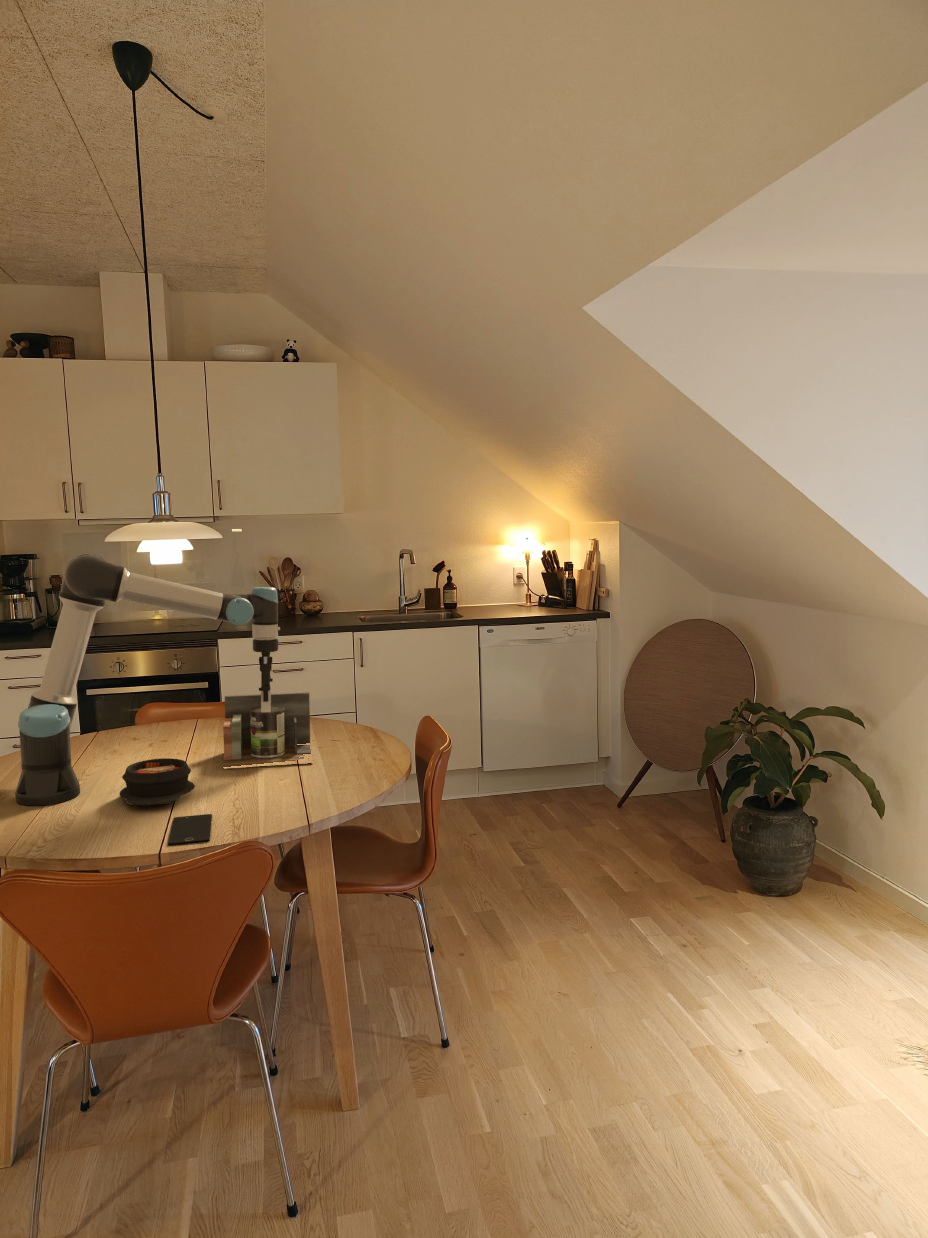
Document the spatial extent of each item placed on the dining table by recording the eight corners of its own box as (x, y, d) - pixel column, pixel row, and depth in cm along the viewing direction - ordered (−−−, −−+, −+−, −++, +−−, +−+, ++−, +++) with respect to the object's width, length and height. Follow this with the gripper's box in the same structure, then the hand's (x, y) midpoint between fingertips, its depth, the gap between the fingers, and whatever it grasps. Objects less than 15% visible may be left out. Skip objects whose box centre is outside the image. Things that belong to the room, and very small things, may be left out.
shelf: (312, 764, 247) (311, 704, 245) (222, 769, 241) (220, 709, 239) (310, 747, 266) (309, 692, 264) (226, 752, 261) (224, 695, 259)
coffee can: (263, 760, 245) (262, 713, 244) (244, 754, 252) (242, 708, 251) (292, 753, 253) (291, 708, 251) (272, 747, 260) (271, 703, 258)
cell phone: (167, 847, 182) (167, 843, 182) (174, 820, 199) (173, 817, 199) (209, 843, 184) (209, 839, 184) (212, 817, 202) (212, 813, 202)
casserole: (128, 785, 227) (126, 755, 226) (198, 780, 231) (197, 751, 230) (111, 815, 202) (109, 781, 201) (190, 809, 207) (189, 776, 206)
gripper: (278, 643, 238) (278, 715, 240) (278, 633, 262) (278, 699, 264) (251, 643, 236) (252, 716, 238) (253, 633, 260) (254, 700, 262)
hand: (266, 707), depth 251 cm, fingers open, 13 cm apart
